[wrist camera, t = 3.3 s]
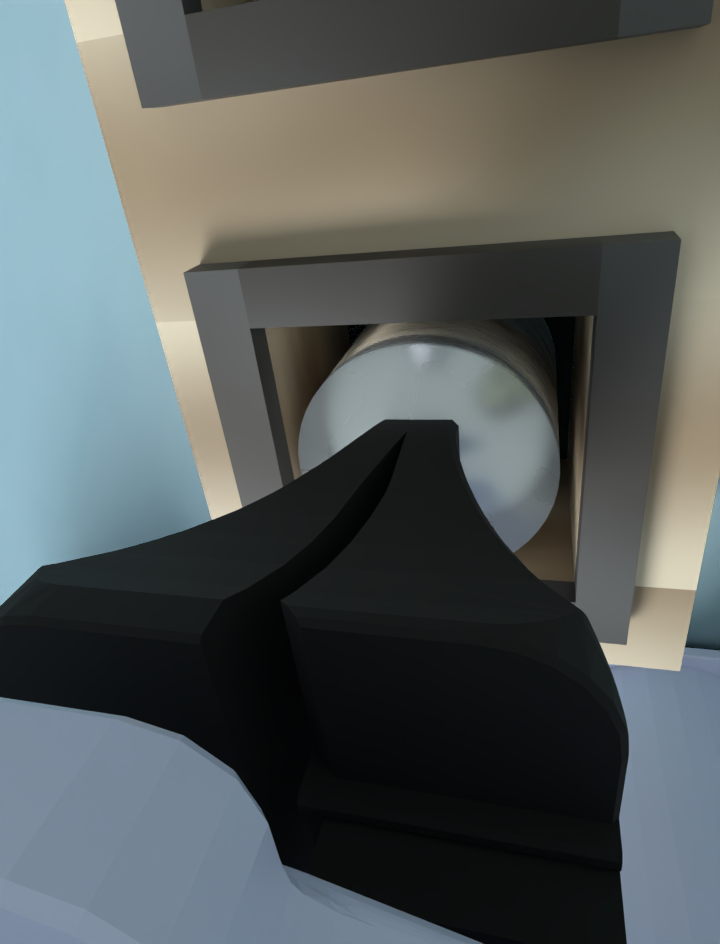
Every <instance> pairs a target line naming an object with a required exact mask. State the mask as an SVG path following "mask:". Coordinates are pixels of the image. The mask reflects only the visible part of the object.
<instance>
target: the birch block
mask: <svg viewBox="0 0 720 944" xmlns="http://www.w3.org/2000/svg"><path fill="white" fill-rule="evenodd" d="M64 1H65V5H66V8H67V12H68V15H69V19H70V22H71V26H72V29H73V33H74V36H75V40H76V43H77V47H78V50H79V54H80V58H81V61H82V65H83V68H84V72H85V75H86V79H87V82H88V86H89V89H90V93H91V96H92V100H93V103H94V107H95V110H96V114H97V117H98V121H99V124H100V128H101V131H102V135H103V138H104V142H105V146H106V149H107V153H108V156H109V160H110V163H111V167H112V170H113V174H114V177H115V181H116V184H117V188H118V191H119V195H120V198H121V202H122V205H123V209H124V212H125V216H126V219H127V223H128V227H129V230H130V234H131V237H132V241H133V244H134V248H135V251H136V255H137V258H138V262H139V265H140V269H141V272H142V276H143V279H144V283H145V286H146V290H147V293H148V297H149V300H150V304H151V308H152V311H153V315H154V318H155V322H156V325H157V329H158V332H159V336H160V339H161V343H162V346H163V350H164V353H165V357H166V360H167V364H168V367H169V371H170V374H171V378H172V381H173V385H174V388H175V392H176V396H177V399H178V403H179V406H180V410H181V413H182V417H183V420H184V424H185V427H186V431H187V434H188V438H189V441H190V445H191V448H192V452H193V455H194V459H195V462H196V466H197V469H198V473H199V477H200V480H201V484H202V487H203V491H204V494H205V498H206V501H207V505H208V508H209V512H210V515H211V519H212V520H213V519H216V518H218V517H221V516H223V515H226V514H228V513H231V512H233V511H236V510H238V509H240V508H242V507H245V506H247V505H249V504H251V503H253V502H255V501H257V500H259V499H261V498H263V497H265V496H267V495H269V494H271V493H273V492H275V491H276V490H278V489H280V488H282V487H284V486H285V485H287V484H289V483H291V482H292V481H294V480H295V479H297V478H299V477H300V476H302V474H301V470H300V465H299V456H298V440H299V433H300V428H301V423H302V420H303V417H304V414H305V411H306V409H307V407H308V406H309V404H310V402H311V400H312V398H313V396H314V395H315V394H316V392H317V391H318V390H319V388H320V387H321V386H322V384H323V383H324V381H325V380H326V379H327V377H328V376H329V375H330V373H331V372H332V371H333V369H334V368H335V367H336V365H337V364H338V363H339V361H340V360H341V359H342V357H343V356H344V355H345V353H346V352H347V351H348V349H349V348H350V339H349V331H348V325H357V324H383V323H409V322H435V321H462V320H488V319H514V318H540V317H566V316H575V332H574V349H573V367H572V384H571V401H570V419H569V436H568V454H567V459H560V479H559V487H558V492H557V495H556V499H555V502H554V505H553V507H552V509H551V511H550V513H549V515H548V517H547V519H546V520H545V522H544V523H543V525H542V526H541V528H540V529H539V530H538V531H537V533H536V534H535V535H534V536H533V537H532V538H531V539H530V540H529V541H528V542H527V543H526V544H524V545H523V546H522V547H521V548H519V549H518V550H517V551H515V552H514V554H515V555H516V556H517V557H518V558H519V560H520V561H521V562H522V563H523V564H524V565H525V566H526V567H527V568H528V570H529V571H531V572H532V573H533V574H534V575H535V576H536V577H537V578H538V579H539V580H540V581H542V582H543V583H544V584H546V585H547V586H548V587H550V588H551V589H553V590H554V591H555V592H557V593H558V594H560V595H561V596H562V597H564V598H565V599H567V600H568V601H569V602H571V603H572V604H574V605H575V606H576V607H578V608H579V609H581V610H582V611H583V612H584V613H585V614H586V615H587V617H588V619H589V621H590V623H591V625H592V628H593V630H594V632H595V634H596V636H597V639H598V641H599V643H600V645H601V647H602V650H603V652H604V655H605V657H606V659H607V662H608V664H614V665H623V666H633V667H643V668H653V669H662V670H672V671H680V669H681V664H682V659H683V654H684V649H685V644H686V639H687V634H688V629H689V624H690V619H691V614H692V609H693V604H694V599H695V594H696V589H697V584H698V579H699V574H700V569H701V564H702V559H703V554H704V549H705V544H706V539H707V534H708V529H709V524H710V519H711V514H712V509H713V504H714V499H715V494H716V489H717V484H718V479H719V474H720V0H64Z"/></svg>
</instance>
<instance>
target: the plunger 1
mask: <svg viewBox="0 0 720 944" xmlns="http://www.w3.org/2000/svg"><path fill="white" fill-rule="evenodd" d="M385 419H407V420H453V421H454V422H455V423H456V424H457V425H458V426H459V445H460V461H461V464H462V467H463V471H464V474H465V476H466V479H467V481H468V484H469V486H470V488H471V490H472V492H473V494H474V497H475V498H476V500H477V502H478V504H479V506H480V508H481V509H482V511H483V513H484V514H485V516H486V518H487V519H488V521H489V522H490V524H491V525H492V527H493V528H494V530H495V531H496V532H497V534H498V535H499V536H500V538H501V539H502V540H503V542H504V543H505V544H506V545H507V546H508V547H509V548H510V550H511V551H512V552H513V553H514V552H515V551H517V550H518V549H519V548H521V547H522V546H523V545H524V544H526V543H527V542H528V541H529V540H530V539H531V538H532V537H533V536H534V535H535V534H536V533H537V531H538V530H539V529H540V528H541V526H542V525H543V523H544V522H545V520H546V519H547V517H548V515H549V513H550V511H551V509H552V507H553V505H554V502H555V499H556V495H557V492H558V487H559V479H560V453H559V427H558V401H557V375H556V353H555V348H554V342H553V339H552V336H551V333H550V330H549V328H548V326H547V324H546V322H545V320H544V318H543V317H540V318H514V319H488V320H462V321H435V322H409V323H383V324H367V325H366V327H365V328H364V329H363V331H362V332H361V333H360V335H359V336H358V337H357V339H356V340H355V341H354V343H353V344H352V345H351V347H350V348H349V349H348V351H347V352H346V353H345V355H344V356H343V357H342V359H341V360H340V361H339V363H338V364H337V365H336V367H335V368H334V369H333V371H332V372H331V373H330V375H329V376H328V377H327V379H326V380H325V381H324V383H323V384H322V386H321V387H320V388H319V390H318V391H317V392H316V394H315V395H314V396H313V398H312V400H311V402H310V404H309V406H308V407H307V409H306V411H305V414H304V417H303V420H302V423H301V428H300V433H299V440H298V456H299V465H300V470H301V474H302V475H303V474H305V473H306V472H308V471H310V470H311V469H313V468H314V467H316V466H318V465H319V464H321V463H322V462H324V461H325V460H327V459H328V458H330V457H331V456H333V455H334V454H335V453H337V452H338V451H340V450H341V449H343V448H344V447H345V446H347V445H348V444H350V443H351V442H352V441H354V440H355V439H357V438H358V437H359V436H361V435H362V434H364V433H365V432H366V431H368V430H369V429H371V428H372V427H373V426H375V425H376V424H378V423H380V422H381V421H383V420H385Z"/></svg>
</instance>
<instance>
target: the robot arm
mask: <svg viewBox="0 0 720 944" xmlns="http://www.w3.org/2000/svg"><path fill="white" fill-rule="evenodd" d="M0 944H720V651H719V650H708V649H697V648H686V647H685V649H684V654H683V659H682V664H681V669H680V671H672V670H662V669H653V668H643V667H633V666H623V665H614V664H608V662H607V659H606V657H605V655H604V652H603V650H602V647H601V645H600V643H599V641H598V639H597V636H596V634H595V632H594V630H593V628H592V625H591V623H590V621H589V619H588V617H587V615H586V614H585V613H584V612H583V611H582V610H581V609H579V608H578V607H576V606H575V605H574V604H572V603H571V602H569V601H568V600H567V599H565V598H564V597H562V596H561V595H560V594H558V593H557V592H555V591H554V590H553V589H551V588H550V587H548V586H547V585H546V584H544V583H543V582H542V581H540V580H539V579H538V578H537V577H536V576H535V575H534V574H533V573H532V572H531V571H529V570H528V568H527V567H526V566H525V565H524V564H523V563H522V562H521V561H520V560H519V558H518V557H517V556H516V555H515V554H514V553H513V552H512V551H511V550H510V548H509V547H508V546H507V545H506V544H505V543H504V542H503V540H502V539H501V538H500V536H499V535H498V534H497V532H496V531H495V530H494V528H493V527H492V525H491V524H490V522H489V521H488V519H487V518H486V516H485V514H484V513H483V511H482V509H481V508H480V506H479V504H478V502H477V500H476V498H475V497H474V494H473V492H472V490H471V488H470V486H469V484H468V481H467V479H466V476H465V474H464V471H463V467H462V464H461V461H460V445H459V426H458V425H457V424H456V423H455V422H454V421H453V420H407V419H385V420H383V421H381V422H380V423H378V424H376V425H375V426H373V427H372V428H371V429H369V430H368V431H366V432H365V433H364V434H362V435H361V436H359V437H358V438H357V439H355V440H354V441H352V442H351V443H350V444H348V445H347V446H345V447H344V448H343V449H341V450H340V451H338V452H337V453H335V454H334V455H333V456H331V457H330V458H328V459H327V460H325V461H324V462H322V463H321V464H319V465H318V466H316V467H314V468H313V469H311V470H310V471H308V472H306V473H305V474H303V475H302V476H300V477H299V478H297V479H295V480H294V481H292V482H291V483H289V484H287V485H285V486H284V487H282V488H280V489H278V490H276V491H275V492H273V493H271V494H269V495H267V496H265V497H263V498H261V499H259V500H257V501H255V502H253V503H251V504H249V505H247V506H245V507H242V508H240V509H238V510H236V511H233V512H231V513H228V514H226V515H223V516H221V517H218V518H216V519H213V520H211V521H208V522H206V523H203V524H201V525H198V526H195V527H193V528H190V529H188V530H185V531H182V532H179V533H176V534H172V535H169V536H166V537H163V538H160V539H157V540H153V541H150V542H146V543H143V544H139V545H136V546H132V547H128V548H124V549H121V550H117V551H113V552H108V553H103V554H99V555H94V556H90V557H85V558H80V559H76V560H71V561H66V562H62V563H57V564H51V565H46V566H42V567H40V568H39V569H38V570H37V571H36V572H35V573H34V574H33V575H32V576H31V577H30V578H29V579H28V580H27V581H26V582H25V583H24V584H23V585H22V586H21V587H20V588H19V589H17V590H16V591H15V592H14V593H13V594H12V595H11V596H10V597H9V598H8V599H7V600H6V601H5V602H4V603H3V604H2V605H1V606H0Z"/></svg>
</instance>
